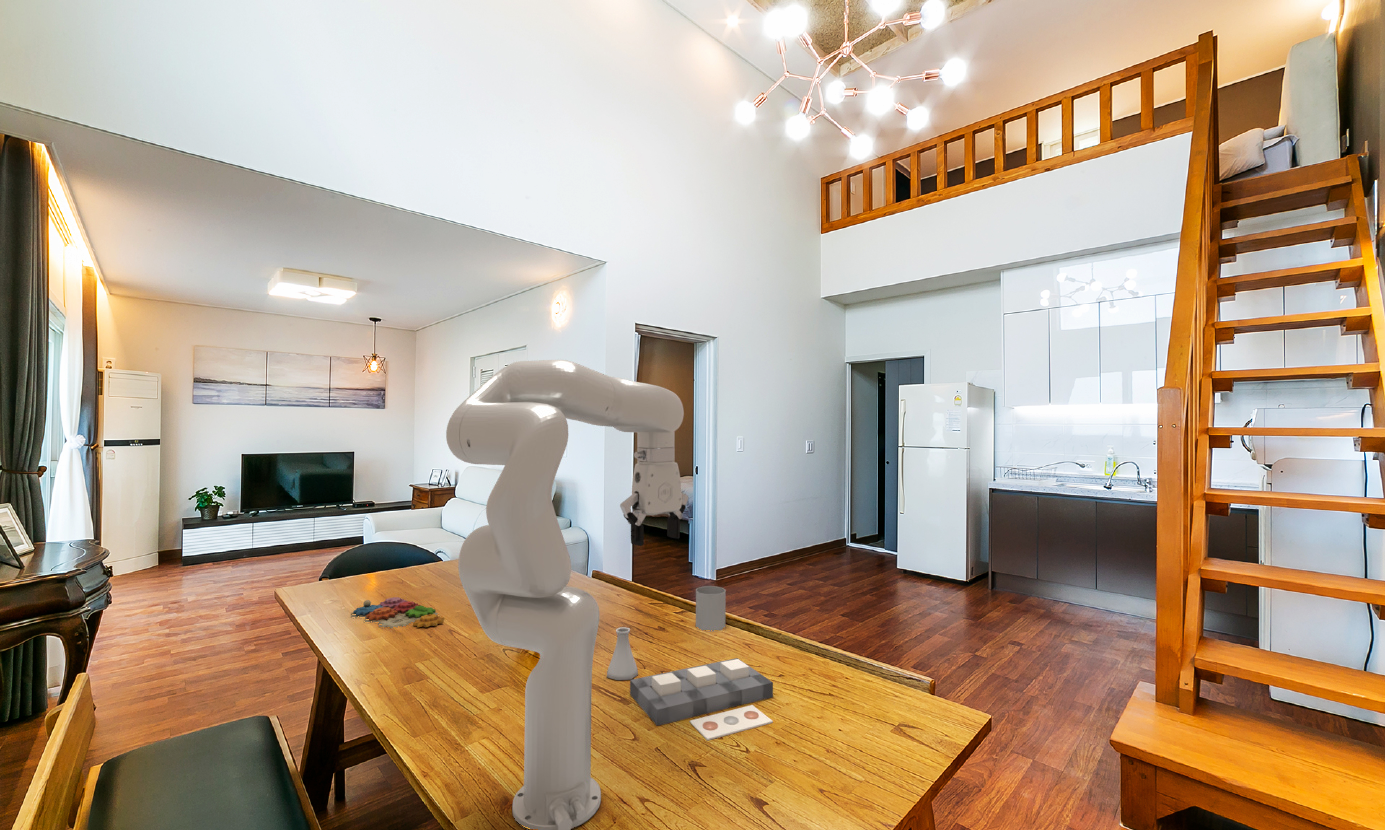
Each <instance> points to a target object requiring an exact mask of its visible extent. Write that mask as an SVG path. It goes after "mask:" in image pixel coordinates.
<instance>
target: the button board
mask: <svg viewBox="0 0 1385 830" xmlns="http://www.w3.org/2000/svg"><path fill="white" fill-rule="evenodd" d="M735 659H739V660H740V661H742V660H741V659H740V658H738V657H735V658H732V659H725V660H721V661H716V662H711V663H706V664H702V665H701V664H700V665H696V666H691V667H686V668H682V669H677V670H673V671H668V672H662V673H657V674H652V675H647V676H643V677H642V676H641V677H638V678H632V679H630V680H629V694H630V696H631V698H633V700H634V701H635V702H636V703H637V705H639V707H640V708H641V709H642V710H643V711H644V712H645V714H646V715H647V716H648V718H650V719H651V721H652V722H653V723H654V724H655V725H656V726H658V727H659V726H662V725H666V724H670V723H674V722H679V721H683V720H686V719H690V718H694V717H695V718H696V717H698V716H699V717H700V716H704V715H706V714H711V713H715V712H718V711H723V710H727V709H730V707H731V708H734V707H738V705H739V706H742V705H747V704H750V703H751V704H752V703H754V702H759V701H762V700H767V699H771V698H773V697H774V682H773V681H771V680H770V679H769V678H767V677H766V676H764V675H763V674H762V673H760V672H758V671H757V670H755V668H753V667H751V666H750V665H748V664H747V663H745V662H744V661H742V662H743V663H745V664H746V665H748V666H749V677H745V678H741V679H736V680H732V681H730V680H729V679H727V678H726V677H725V676H724V675H722V674H721V673H720V666H721V662H725V661H730V660H735ZM701 666H707V667H708V668H710V669H711V670H712V671H713V672H715V673H716V684H714V685H710V686H705V687H701V688H695V687H694V686H693V685H692V684H691V683H689V682H688V681H687V669H691V668H696V667H701ZM667 673H673V674H674V675H675V676H676V677H677V678H678V679H679V680H680V681H681V692H678V693H674V694H669V695H665V696H659V695H658V694H657V693H656V692H655V691H654V690H653V689H652V676H657V675H662V674H667Z"/></svg>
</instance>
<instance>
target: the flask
mask: <svg viewBox="0 0 1385 830" xmlns="http://www.w3.org/2000/svg"><path fill="white" fill-rule="evenodd" d="M615 632H616V635H617V636H616V637H617V638H616V644H615V648H614V650H613V654H612V657H611V659H610V662H609V665H608V668H607V671H606V678H609V679H613V680H615V681H628V680H629V681H630V680H632V679H635V677H637V676H638V675H639V669H638V667H637V663H636V660H635V657H634V654H633V652H632V648H631V644H630V640H629V636H630V635H629V634H630V632H631V628H630V627H626V626H625V627H618V628H616V629H615Z"/></svg>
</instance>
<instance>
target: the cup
mask: <svg viewBox="0 0 1385 830" xmlns="http://www.w3.org/2000/svg"><path fill="white" fill-rule="evenodd" d="M726 599H727V597H726V588H723V587H721V586H716V585H715V586H714V585H705V586H700V587H697V588H696V589H695V628H696V627H698V628H699V629H701V630H700V631H703V630H710V631H709V632H715V631H714V630H719V631H722V629H723V628H724V627H725V628H726ZM698 628H697V629H698ZM725 628H724V629H725ZM699 629H698V630H699ZM724 629H723V630H724ZM711 630H712V631H711Z"/></svg>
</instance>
